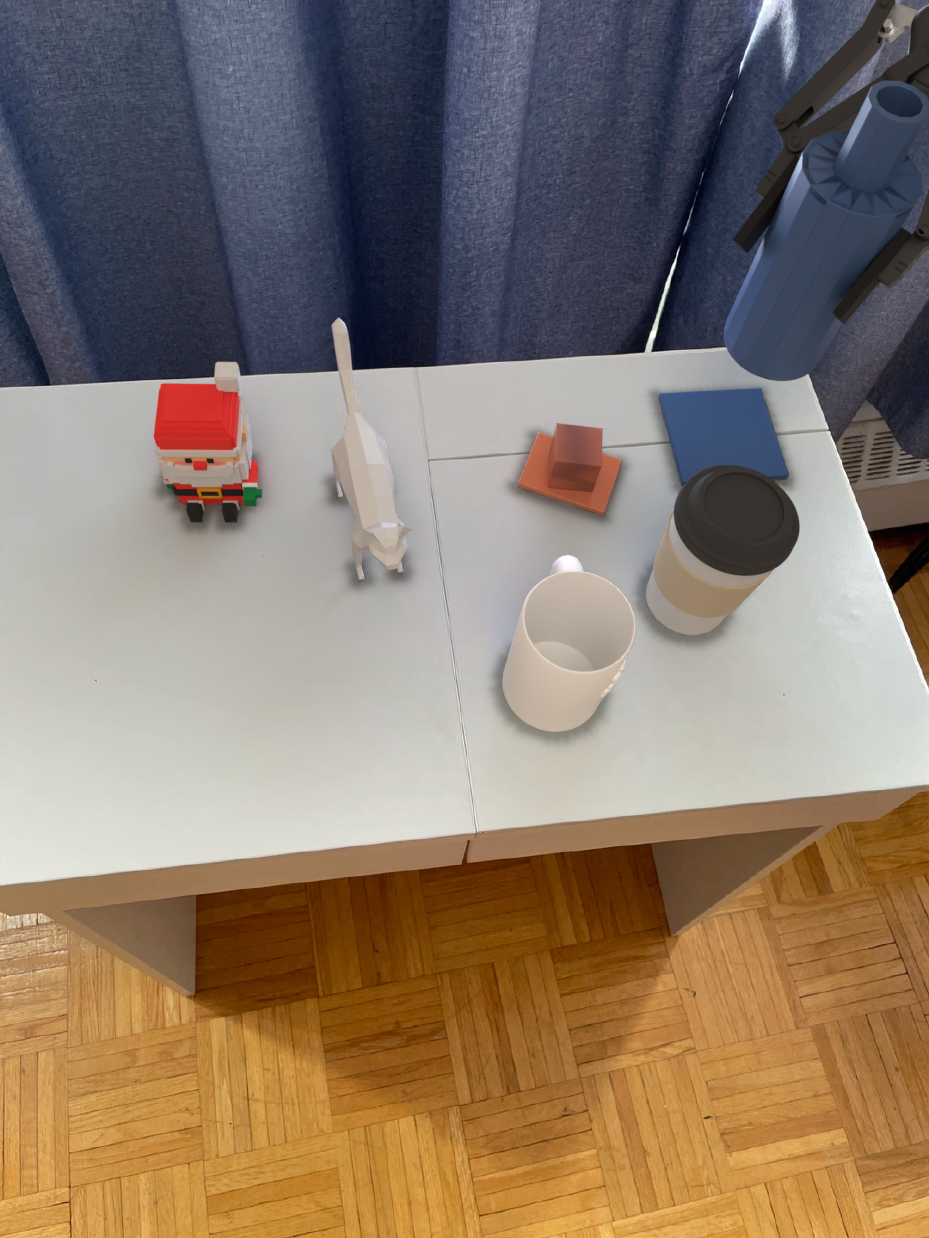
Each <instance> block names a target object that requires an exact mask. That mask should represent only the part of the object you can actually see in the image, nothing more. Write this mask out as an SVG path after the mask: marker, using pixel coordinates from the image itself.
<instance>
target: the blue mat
mask: <svg viewBox="0 0 929 1238" xmlns="http://www.w3.org/2000/svg"><path fill="white" fill-rule="evenodd" d="M658 400H659V404H660V408H661V411H662V415H663V418H664V423H665V426H666V431H667V434H668V438H669V442H670V446H671V451H672V453H673V457H674V462H675V465H676V469H677V474H678V476H679V480H680V484H681V486H684V485H685V483H686V482H687V481H688V479H689V478H690V477H692V476H693V475H694V474H696V473H697V472H699V471H701V470H703V469H705V468H708V467H712V466H718V465H735V466H741V467H745V468H749V469H752V470H755V471H758V472H760V473H762V474H764V475H766V476H768V477H769V478H771V479H772V480H773V481H775V480H787V479H788V478H789V476H790V473H789V470H788V467H787V464H786V461H785V458H784V454H783V451H782V448H781V445H780V442H779V439H778V436H777V433H776V430H775V427H774V424H773V420H772V418H771V415H770V410H769V407H768V405H767V402H766V398H765V395H764V393H763V389H762V388H761V387H756V388H736V389H718V390H717V389H716V390H696V391H679V392H677V391H675V392H660V393H659V395H658Z"/></svg>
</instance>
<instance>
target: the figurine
mask: <svg viewBox="0 0 929 1238" xmlns="http://www.w3.org/2000/svg"><path fill="white" fill-rule="evenodd" d="M213 375H214V376H213V379H214V383H180V382H179V383H177V382H176V383H172V382H171V383H170V382H166V383H165V382H162V383H160V387H159V389H158V396H157V405H156V412H155V421H154V428H153V439H154V444H153V451H154V454H155V455H157V457H158V459H157V464H158V468H159V471H160V473H161V475H162V477H163V480H162V483H163V484H164V485H166V487H167V489H172V490H171V491H172V492H173V495H175V496H176V497H177V499H178V501H179V502H180V503H181V504H182V505H185V511H186V513H187V517H188V519H189V523H203V517H204V512H205V511H206V507H205V505H221V512H222V515H223V519H224V522H225V523H238V514H239V513H238V512H240V508H241V507H240V505H243V506H244V507H257V504H258V503H257V502H258V501H257V500H258V499H263V488H259V464H258V463H259V462H258V461H256V460H255V459H252V458H253V440H252V429H251V424H250V419H249V415H248V414H244V409H245V401H244V398H242V397H241V395H239V392H240V388H241V371H240V367H239V363H237V361H217V362H215V365H214V374H213Z"/></svg>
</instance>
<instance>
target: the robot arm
mask: <svg viewBox="0 0 929 1238" xmlns="http://www.w3.org/2000/svg"><path fill="white" fill-rule="evenodd" d="M903 33H909V40H908V49H907V55H905V56H903V57H902V58H900V59H898V60H897V61H895V63H893V64H891V65H890V66H889V67H887V68H886V69H885V70H884V72H883V73H882V74H881V75H879V76H878V77H877V78H875V79H874V80H873V81H871V82H869V83H868V84H866V85H864V86H863V87H861V88H860V89H858V91H856V92H854V93H853V94H852V95H850V96H848V97H847V98H845V99H844V100H842V101H841V102H839V103H838V104H836V105H835V106H833V107H832V108H830V109H829V110H827V111H826V112H824V113H823V114H822V115H819V117H817V118H815V119H813V117H814V116H815V115H817V114H818V113H819V112H820V111H821V110H822V109H823V107H825V106H826V105H827V104H828V103H829V102H830V101H831V100H832V99H833V98H834V96H836V94H837V93H839V92H840V90H842V89H843V88H844V86H846V85H847V83H849V82H850V81H851V80H852V79H853V78H854V77H855V76H856V75H857V74H858V72H860V71H861V70H862V69H863V68H864V67H865V66H866V65H867V64H868V63H869V61H871V60H872V58H873V57H874V56H876V54H877V52H878V51H879V50H880V49H881V48H882V46H883V44H890V43H893V42H894V41H895V40H897V38H898V37H899V36H900V35H902V34H903ZM882 81H901V82H904V83H907V84H909V85H912V86H915V87H916V88H917V89H919V90H920V91H921V92H922V93H923V94H925V95H926V96H927V98H928V100H929V3H928V4H926V5H925V6H923V7H922V8H920V9H919V10H918V9H916V8H912V7H910V6H907V5H903V4H901V3H898V2H896V0H875V1H874V3H873V5H872V7H871V8H870V11H869V12H868V14H867V16H866V18H865V20H864V22H863V23H862V24H861V27H860V28H859V29H858V30H856V32H854V34H853V35H852V36H850V38H849V39H848V40H847V41H846V42H845V43H844V44H843V45H842V46H841V47H840V48H838V50H837V51H836V52H835V53H834V54H833V55H832V56H831V57H830V58H829V59H828V60H827V61H826V62H825V63H824V64H823V66H821V68H819V70H818V71H817V72H816V73H814V75H812V77H810V79H809V80H808V81H807V82H806V83H805V84H804V85H803V86H802V87H801V88H800V89H799V90H798V91H797V92H796V93H795V94H794V95H793V96H792V97H791V98H790V99H789V100H788V101H787V102H786V103H785V104H784V105H783V106H782V107H781V108H780V109H779V110H778V111H777V112H776V113H775V115H774V117H773V120H772V121H773V122H772V123H773V125H774V128H775V130H776V132H777V134H778V136H779V138H780V139H781V142H783V146H782V150H781V152H780V153H779V155H778V156H777V157H776V158H775V160H774V162H773V163H772V164H771V166H770V167H769V168H768V170H767V171H766V172H765V173H764V175H763V176H762V178H761V179H760V180H759V182H758V183H757V186H756V189H755V193H756V195H757V196H758V198H760V199H761V201H760V202H759V203H758V205H757V206H756V207H755V209H753V211H752V212H751V214H750V215H749V217H748V218H747V219H746V221H745V222H744V223H743V225H742V226H741V227H740V228H739V229H738V231H737V232H736V234H735V236H734V237H733V238H732V241H733V242H734V243H735V244H736V246H737V247H738V248H739V249H740V250H741V251H743V252H744V253H745V254H749V253H750V252H751V250H752V249H753V247H754V246H755V245H756V243H757V242H758V241H759V239H760V238H761V237H762V235H764V233H765V231H767V230H768V227H769V225H770V223H771V221H772V219H773V216H774V214H775V212H776V210H777V208H778V205H779V203H780V201H781V199H782V197H783V194H784V192H785V190H786V188H787V186H788V183H789V181H790V179H791V177H792V175H793V172H794V170H795V168H796V166H797V164H798V161H799V159H800V157H801V155H802V153H803V151H804V150H805V149H806V147H807V146H808V144H809V143H810V142H811V140H813V139H815V138H817V137H819V136H821V135H823V134H826V133H828V132H834V131H846V130H850V129H851V127H852V125H853V123H854V121H855V119H856V117H857V115H858V113H859V111H860V109H861V107H862V105H863V103H864V101H865V99H866V97H867V95H868V93H869V91H870V89H871V87H872V86H873V85H875V84H878V83H880V82H882ZM811 119H813V120H812V121H811ZM809 121H811V122H810V123H809ZM928 251H929V189H928V191H927V194H926V196H925V200H924V203H923V206H922V209H921V212H920V216H919V218H918V222H917V225H915V230H914V231H913V232H912V233H911V232H910V231H908V230H907V229H906V228H904V227H901V229H900V230H899V231H898V232H897V234H896V235H895V236H894V237H893V239H892V240H891V241H890V242H889V243H888V245H887V246H886V247H885V248H884V249H883V251H882V252H881V253H880V254H879V256H878V257H877V258H876V259H875V260H874V262H873V263H872V264H871V265H870V267H869V268H868V269H867V270H866V271H865V273H864V274H863V275H862V276H861V277H860V279H859V280H858V281H857V282H856V284H855V285H854V286H853V287H852V288H851V290H850V291H849V292H848V293H847V295H846V296H845V297H844V298H843V299H842V301H841V302H840V303H839V304H838V305H837V307H836V308H835V309H834V310H833V314H834V316H835V317H836V318H837V319H838V320H839V321H841V322H842V323H843V325H845V324H847V322H848V321H849V320H850V318H851V317H852V316H853V314H855V312H856V311H857V310H858V309H859V308H860V307H861V306H862V304H863V303H864V302H865V301H866V299H867V298H868V297H869V296H870V295H871V293H872V292H873V291H874V290H875V288H877V286H878V285H879V284H880V283H881V284H882V285H883V286H885V287H886V288H888V289H889V290H891V289H893V288H894V287H896V286H898V285H899V284H900V282H901V281H902V280H903V279H904V277H905V276H906V275H907V274H908V273H909V271H910V270H911V269H912V268H913V267H914V265H915V264H916V263H917V262H918V261H919V260H920V258H921V257H922V256H923V255H924V254H926V252H928Z"/></svg>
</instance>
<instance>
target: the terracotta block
mask: <svg viewBox="0 0 929 1238" xmlns="http://www.w3.org/2000/svg"><path fill="white" fill-rule="evenodd" d="M603 433H604V432H603V427H595V426H586V425H578V424H570V423H569V424H568V423H560V422H558V423H556V425H555V427H554V432H553V436H552V437H553V439H552V443H551V447H550V452H549V472H548V487H550V488H559V489H568V490H577V491H586V492H593V490H594V487H595V484H596V481H597V478H598V476H599V473H600V470H601V467H602V453H603Z"/></svg>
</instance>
